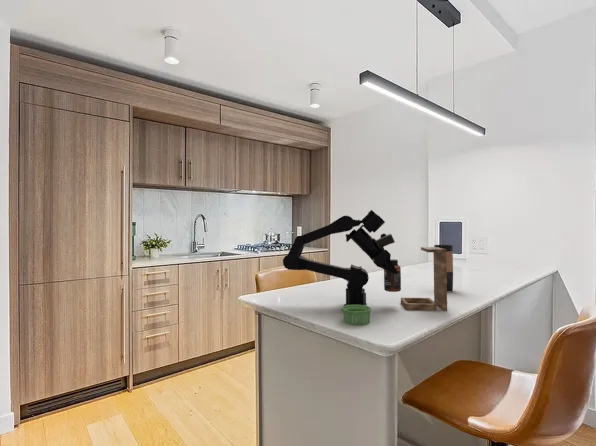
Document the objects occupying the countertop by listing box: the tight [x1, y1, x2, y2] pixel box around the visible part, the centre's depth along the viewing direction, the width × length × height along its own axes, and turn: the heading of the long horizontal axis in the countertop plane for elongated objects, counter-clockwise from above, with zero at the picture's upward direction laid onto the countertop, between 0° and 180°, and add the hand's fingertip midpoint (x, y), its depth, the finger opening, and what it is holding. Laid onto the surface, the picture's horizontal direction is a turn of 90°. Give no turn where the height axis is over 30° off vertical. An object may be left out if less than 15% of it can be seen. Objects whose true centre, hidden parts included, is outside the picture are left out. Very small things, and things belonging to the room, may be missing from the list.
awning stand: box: [400, 246, 448, 312], centre depth 126 cm, size 14×11×21 cm
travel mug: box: [433, 244, 454, 293], centre depth 154 cm, size 8×8×20 cm
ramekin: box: [341, 305, 372, 326], centre depth 108 cm, size 9×9×4 cm
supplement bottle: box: [383, 258, 402, 293], centre depth 127 cm, size 6×6×11 cm
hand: (396, 272), depth 127 cm, fingers closed on supplement bottle, 6 cm apart
